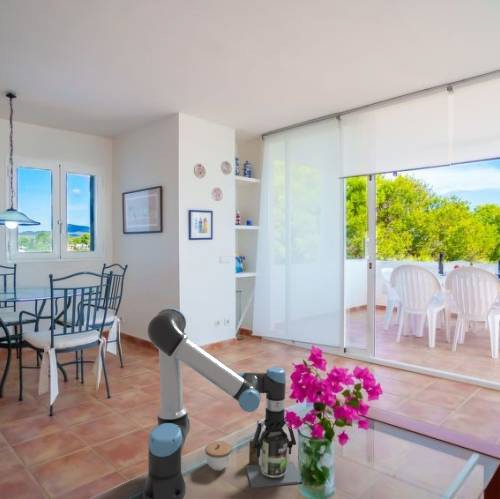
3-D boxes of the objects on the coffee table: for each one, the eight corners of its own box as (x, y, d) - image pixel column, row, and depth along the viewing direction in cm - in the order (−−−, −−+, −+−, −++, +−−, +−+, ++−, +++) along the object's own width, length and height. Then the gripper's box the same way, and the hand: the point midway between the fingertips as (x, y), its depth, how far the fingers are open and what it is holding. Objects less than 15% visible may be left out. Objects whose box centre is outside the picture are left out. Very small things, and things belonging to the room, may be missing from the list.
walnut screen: (249, 464, 164) (250, 440, 164) (249, 462, 166) (249, 438, 165) (287, 461, 167) (287, 438, 167) (286, 459, 169) (286, 436, 168)
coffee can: (291, 468, 159) (292, 433, 159) (278, 481, 151) (279, 444, 150) (268, 459, 165) (269, 426, 164) (255, 471, 156) (256, 436, 156)
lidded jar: (219, 477, 155) (219, 454, 155) (199, 467, 162) (199, 444, 161) (236, 465, 164) (237, 442, 163) (217, 455, 170) (217, 434, 170)
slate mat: (251, 487, 150) (251, 485, 150) (245, 467, 162) (245, 465, 162) (302, 482, 153) (302, 480, 153) (292, 463, 166) (292, 461, 166)
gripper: (248, 413, 151) (247, 471, 152) (305, 410, 155) (303, 466, 156) (245, 405, 158) (243, 459, 159) (299, 402, 162) (298, 455, 163)
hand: (273, 462), depth 158 cm, fingers closed on coffee can, 10 cm apart
